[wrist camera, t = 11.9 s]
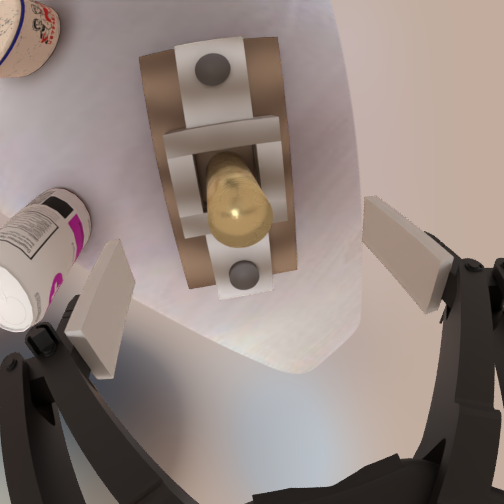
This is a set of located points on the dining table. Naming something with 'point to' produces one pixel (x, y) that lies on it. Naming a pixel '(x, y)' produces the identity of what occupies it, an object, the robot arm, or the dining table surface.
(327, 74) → the dining table surface
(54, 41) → the teacup with lid
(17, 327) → the supplement can
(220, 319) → the dining table surface
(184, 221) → the pin insertion fixture
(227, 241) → the brass pin
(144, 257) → the dining table surface
